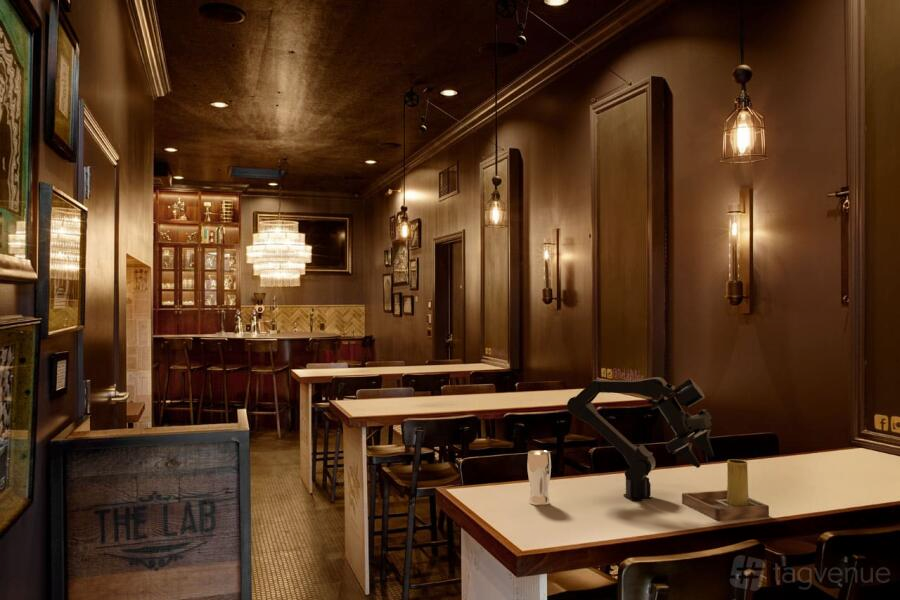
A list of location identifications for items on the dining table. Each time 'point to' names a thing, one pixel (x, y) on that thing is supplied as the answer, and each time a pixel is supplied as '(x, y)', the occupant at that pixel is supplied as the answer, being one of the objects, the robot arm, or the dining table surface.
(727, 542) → the dining table surface
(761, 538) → the dining table surface
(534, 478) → the beer glass
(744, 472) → the vase
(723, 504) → the holder plate
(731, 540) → the dining table surface
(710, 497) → the tray
